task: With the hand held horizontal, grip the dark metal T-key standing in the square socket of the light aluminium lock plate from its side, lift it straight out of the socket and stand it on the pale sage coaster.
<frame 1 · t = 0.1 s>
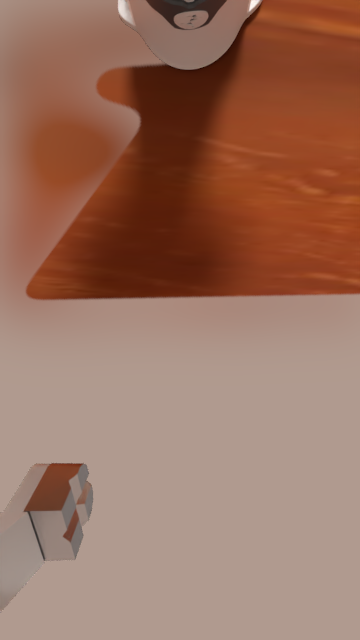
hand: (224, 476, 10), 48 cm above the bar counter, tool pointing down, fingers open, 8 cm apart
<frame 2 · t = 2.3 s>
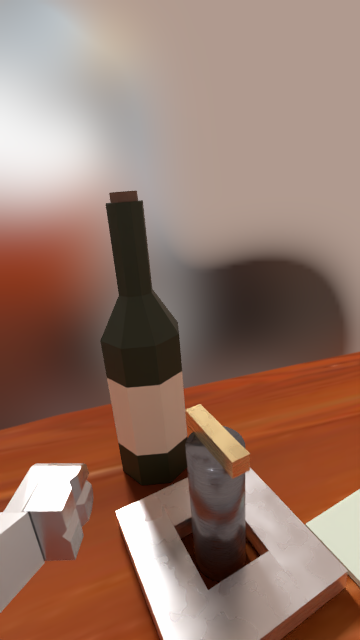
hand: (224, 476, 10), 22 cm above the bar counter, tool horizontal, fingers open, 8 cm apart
t key: (217, 497, 26), in the lock plate
wine bottle: (157, 459, 40), on the bar counter
lock plate: (219, 553, 29), on the bar counter
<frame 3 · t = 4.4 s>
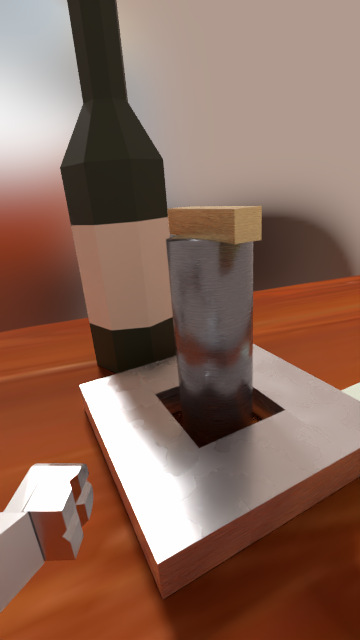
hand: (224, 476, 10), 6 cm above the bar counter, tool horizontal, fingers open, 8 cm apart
t key: (213, 331, 19), in the lock plate
wine bottle: (140, 354, 32), on the bar counter
lock plate: (217, 427, 21), on the bar counter
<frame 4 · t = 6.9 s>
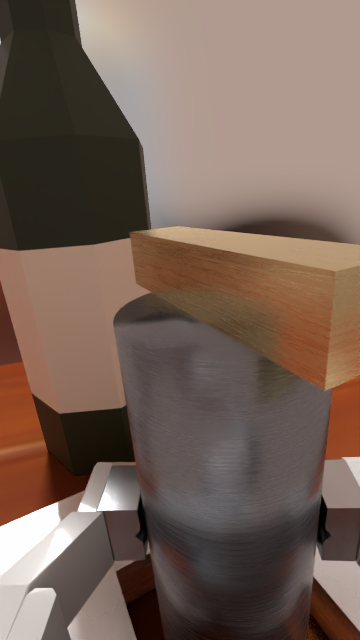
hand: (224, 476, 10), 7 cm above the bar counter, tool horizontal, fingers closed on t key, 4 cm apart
t key: (227, 498, 9), in the lock plate, touching gripper
wine bottle: (113, 429, 22), on the bar counter
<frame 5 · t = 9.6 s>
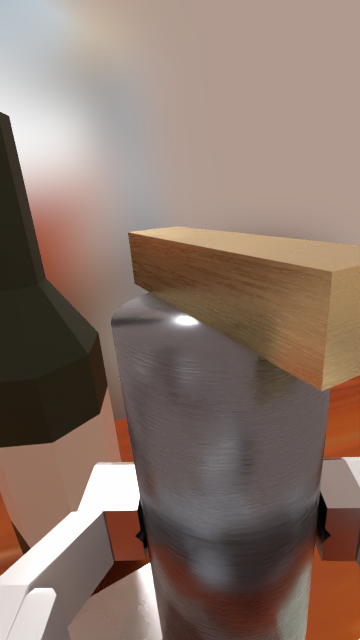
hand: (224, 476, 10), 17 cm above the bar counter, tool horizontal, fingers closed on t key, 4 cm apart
t key: (226, 498, 9), point 18 cm above the bar counter, touching gripper
wine bottle: (80, 534, 27), on the bar counter
when the fingers open (8 cm above the bar counter, at t = 12.3 s): t key stays where it is, resting on coaster.
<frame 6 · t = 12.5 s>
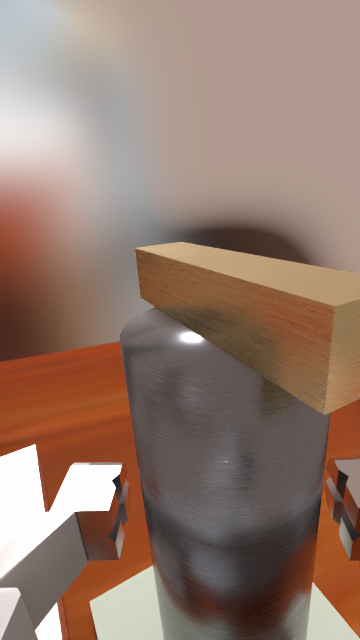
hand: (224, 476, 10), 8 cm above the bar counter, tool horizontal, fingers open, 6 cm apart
t key: (228, 508, 9), on the coaster, point 7 cm above the bar counter
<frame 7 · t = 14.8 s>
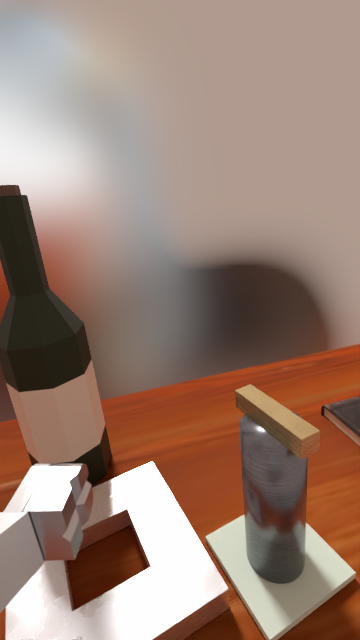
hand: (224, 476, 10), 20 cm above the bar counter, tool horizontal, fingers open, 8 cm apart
coaster: (275, 558, 26), on the bar counter
t key: (273, 487, 24), on the coaster, point 7 cm above the bar counter
wine bottle: (76, 468, 38), on the bar counter
lock plate: (107, 570, 27), on the bar counter
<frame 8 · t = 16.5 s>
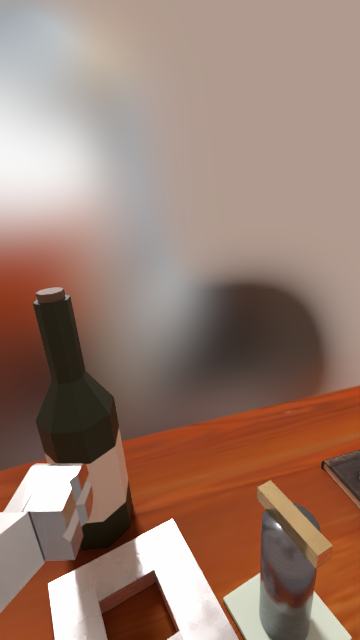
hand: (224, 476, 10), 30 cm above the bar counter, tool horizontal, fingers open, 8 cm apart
coaster: (283, 620, 31), on the bar counter
t key: (287, 569, 28), on the coaster, point 7 cm above the bar counter
wine bottle: (101, 519, 42), on the bar counter
lock plate: (139, 628, 31), on the bar counter
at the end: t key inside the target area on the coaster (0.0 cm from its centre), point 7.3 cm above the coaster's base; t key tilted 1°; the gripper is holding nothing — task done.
